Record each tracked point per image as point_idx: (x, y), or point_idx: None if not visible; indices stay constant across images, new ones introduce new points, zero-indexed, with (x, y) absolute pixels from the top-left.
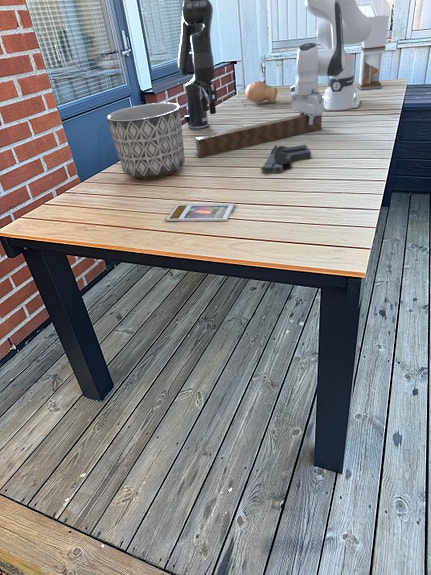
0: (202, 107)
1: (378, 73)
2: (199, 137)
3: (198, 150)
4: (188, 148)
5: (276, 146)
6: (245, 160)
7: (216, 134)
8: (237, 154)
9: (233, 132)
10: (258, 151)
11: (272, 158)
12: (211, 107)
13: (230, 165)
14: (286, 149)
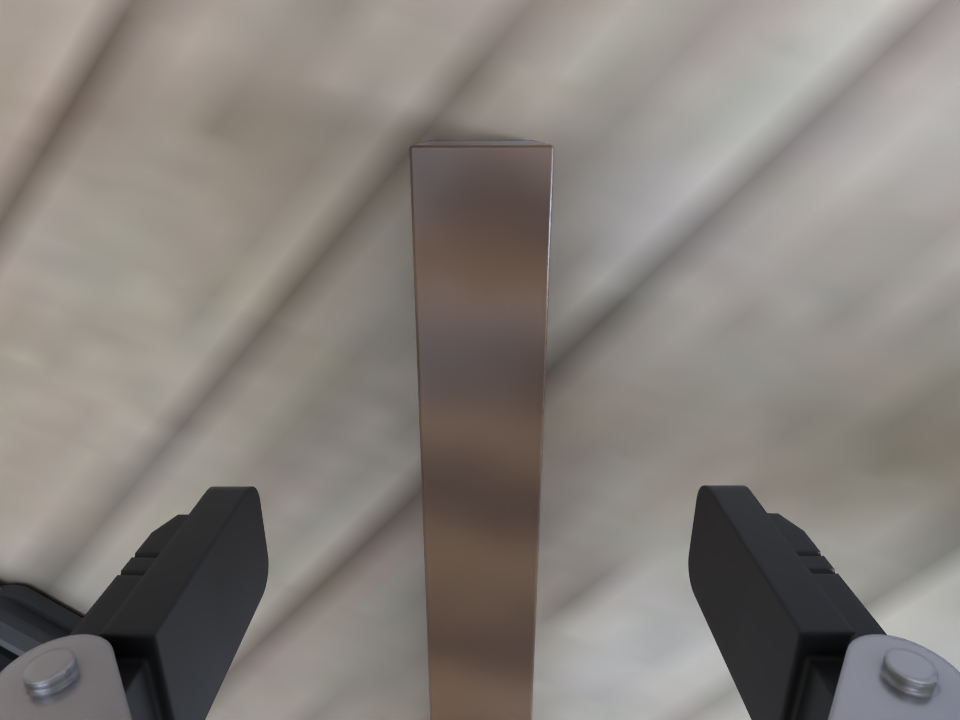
0: (736, 521)
1: None
2: (526, 201)
3: (482, 141)
4: (852, 143)
5: None
6: (82, 429)
7: (488, 420)
8: (285, 444)
9: (425, 581)
10: None
11: None
12: (112, 594)
13: (10, 278)
14: None
